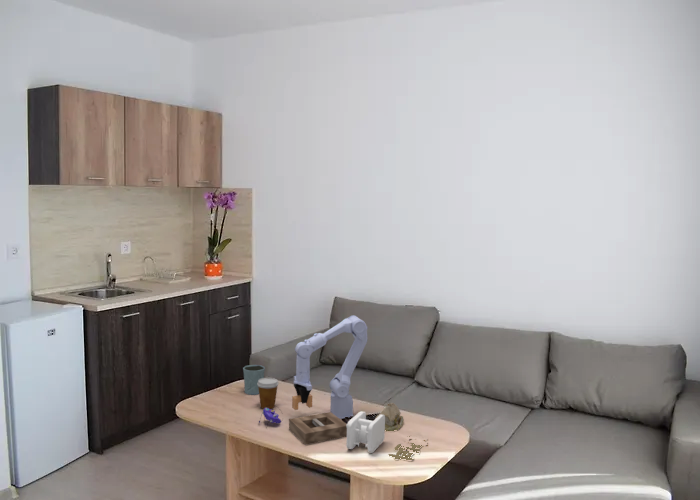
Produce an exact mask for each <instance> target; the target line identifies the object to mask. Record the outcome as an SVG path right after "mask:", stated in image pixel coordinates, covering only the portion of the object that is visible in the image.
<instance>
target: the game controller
mask: <svg viewBox="0 0 700 500" xmlns="http://www.w3.org/2000/svg"><path fill="white" fill-rule="evenodd" d="M268 406H269V405H268ZM274 406H275V407H277V408H278V406H276V404H275V405H274ZM266 407H267V406H266ZM266 407H265V408H264V409H262V413H261V415H260V418H259V420H258V424H259V423H261V418H262V416H264V417H263V419H264V420H267V421H268V422H267V425H266V423H264V425H265V426H268V424H269V423H271V424H273V423H274V424H280V423H281V422H282V421H283V420H284V419H281V418H279V414H278V413H276V410H274V409H272V408H271V409H269V408H266ZM280 411H281V413H283V411H282V410H280ZM265 429H266V430H268V427H265Z"/></svg>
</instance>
